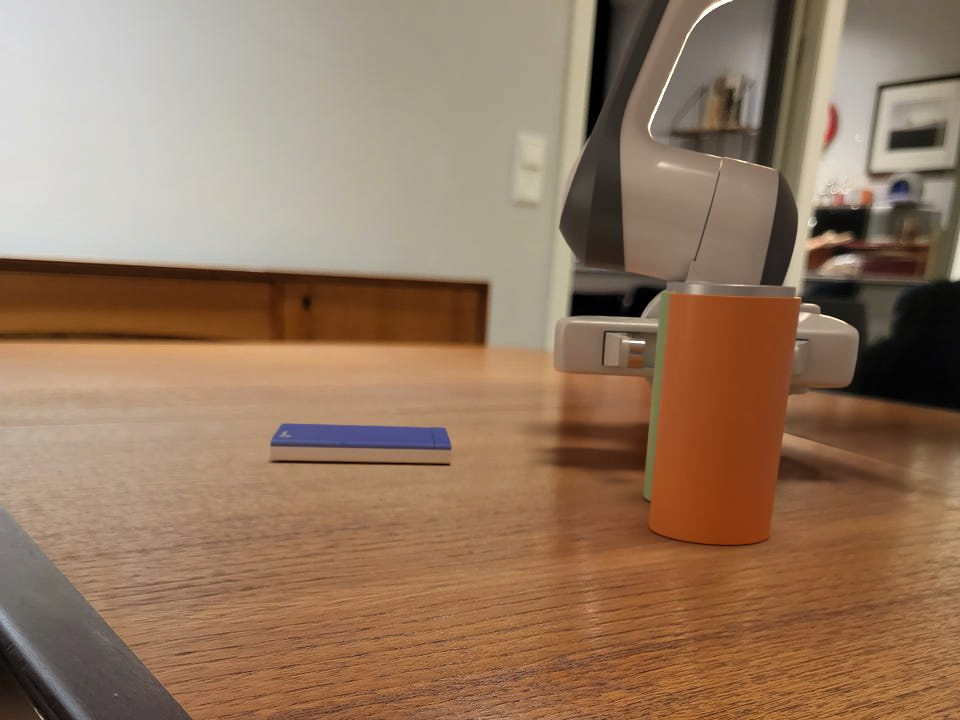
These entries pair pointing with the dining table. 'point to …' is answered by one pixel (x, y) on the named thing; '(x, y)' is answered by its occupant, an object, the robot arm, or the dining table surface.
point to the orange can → (722, 411)
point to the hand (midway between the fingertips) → (708, 357)
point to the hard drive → (360, 444)
